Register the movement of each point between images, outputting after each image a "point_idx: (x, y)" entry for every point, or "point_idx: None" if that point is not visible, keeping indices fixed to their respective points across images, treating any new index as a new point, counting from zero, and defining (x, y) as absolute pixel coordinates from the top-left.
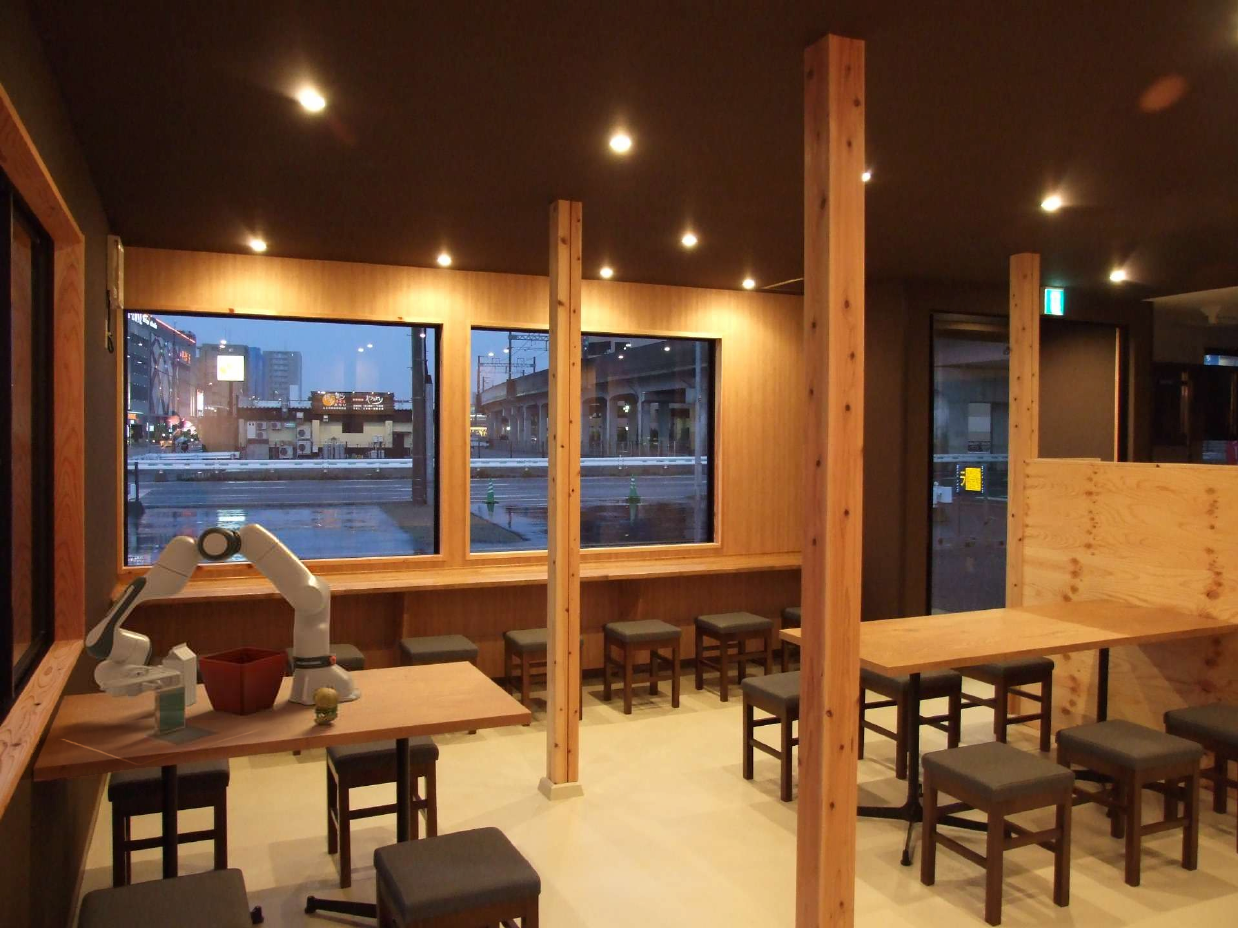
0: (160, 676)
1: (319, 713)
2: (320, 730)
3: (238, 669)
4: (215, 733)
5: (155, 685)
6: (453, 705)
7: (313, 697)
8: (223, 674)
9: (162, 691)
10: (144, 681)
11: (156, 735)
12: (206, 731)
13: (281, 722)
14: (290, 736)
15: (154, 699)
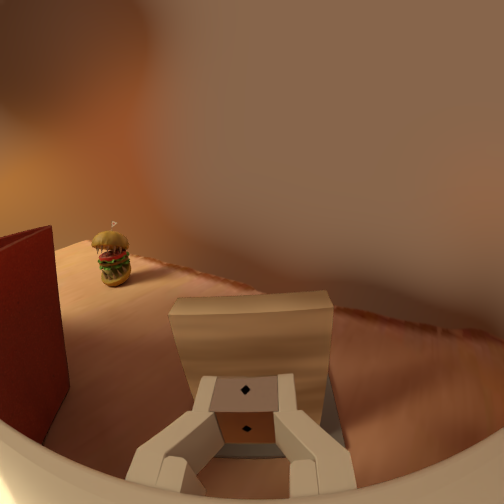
0: (67, 473)
1: (126, 261)
2: (145, 274)
3: (49, 245)
4: None
5: (273, 376)
6: (57, 260)
7: (120, 241)
8: (13, 300)
9: (301, 293)
10: (310, 498)
11: (322, 419)
12: None
13: (113, 315)
14: (179, 277)
15: (330, 345)
